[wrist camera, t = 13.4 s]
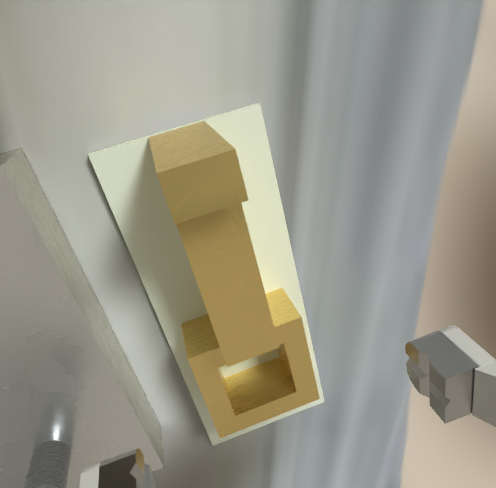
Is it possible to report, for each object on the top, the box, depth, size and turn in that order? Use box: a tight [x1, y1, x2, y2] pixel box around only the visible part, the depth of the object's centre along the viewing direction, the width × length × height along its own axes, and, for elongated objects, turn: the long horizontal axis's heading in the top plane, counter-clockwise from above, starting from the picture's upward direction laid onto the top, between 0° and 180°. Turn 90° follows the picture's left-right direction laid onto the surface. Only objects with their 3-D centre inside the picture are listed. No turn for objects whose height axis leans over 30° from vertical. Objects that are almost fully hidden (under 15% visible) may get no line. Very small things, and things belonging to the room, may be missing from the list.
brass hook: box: [148, 121, 320, 438], centre depth 19 cm, size 16×6×6 cm, turn 14°
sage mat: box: [88, 103, 324, 446], centre depth 23 cm, size 20×8×1 cm, turn 14°
